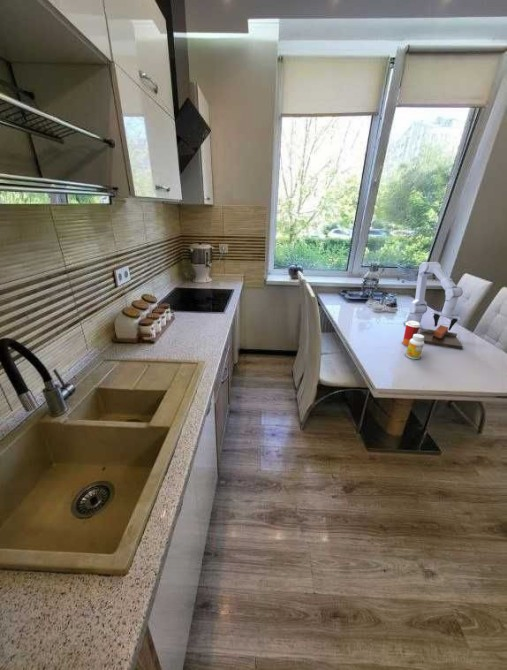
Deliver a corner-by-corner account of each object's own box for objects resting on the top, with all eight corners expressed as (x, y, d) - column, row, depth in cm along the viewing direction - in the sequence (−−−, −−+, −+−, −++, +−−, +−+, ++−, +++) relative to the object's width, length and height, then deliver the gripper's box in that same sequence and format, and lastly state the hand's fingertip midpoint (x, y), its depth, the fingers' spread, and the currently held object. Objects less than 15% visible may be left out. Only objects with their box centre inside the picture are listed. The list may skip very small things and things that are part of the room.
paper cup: (413, 342, 169) (419, 321, 163) (416, 347, 162) (422, 326, 156) (399, 340, 171) (405, 319, 165) (401, 345, 164) (407, 324, 159)
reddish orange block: (440, 339, 168) (442, 333, 166) (432, 337, 171) (434, 331, 169) (447, 332, 173) (449, 326, 171) (439, 329, 176) (441, 323, 174)
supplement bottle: (403, 353, 156) (409, 332, 151) (415, 353, 156) (421, 333, 151) (409, 359, 150) (415, 338, 144) (422, 359, 149) (428, 338, 144)
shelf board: (423, 343, 168) (425, 337, 166) (419, 333, 181) (421, 327, 180) (461, 349, 161) (464, 343, 160) (454, 338, 175) (456, 333, 173)
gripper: (465, 309, 162) (457, 330, 168) (438, 303, 172) (431, 323, 178) (461, 311, 158) (454, 333, 164) (433, 305, 168) (427, 325, 174)
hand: (442, 328), depth 170 cm, fingers open, 7 cm apart
